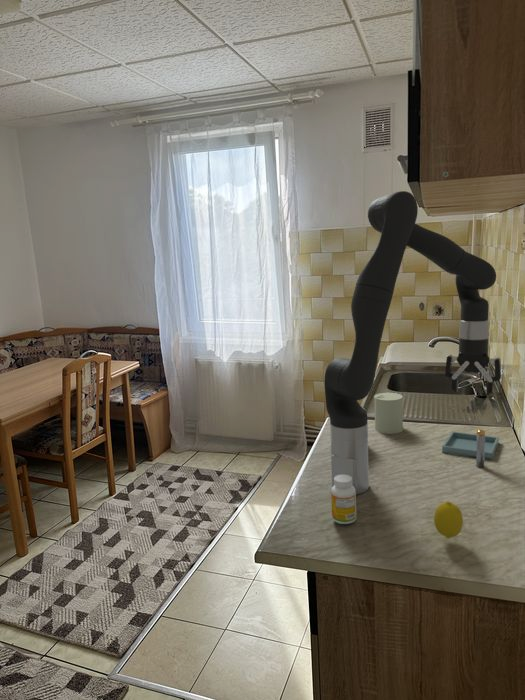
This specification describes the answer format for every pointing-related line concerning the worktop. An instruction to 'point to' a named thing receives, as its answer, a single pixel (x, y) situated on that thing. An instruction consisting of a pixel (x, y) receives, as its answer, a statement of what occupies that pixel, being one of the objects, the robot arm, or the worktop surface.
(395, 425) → the can
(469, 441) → the tray
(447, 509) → the lemon
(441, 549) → the worktop surface
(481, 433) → the orange-topped grey cylinder
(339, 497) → the supplement bottle
